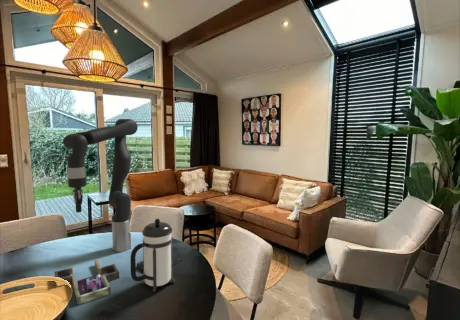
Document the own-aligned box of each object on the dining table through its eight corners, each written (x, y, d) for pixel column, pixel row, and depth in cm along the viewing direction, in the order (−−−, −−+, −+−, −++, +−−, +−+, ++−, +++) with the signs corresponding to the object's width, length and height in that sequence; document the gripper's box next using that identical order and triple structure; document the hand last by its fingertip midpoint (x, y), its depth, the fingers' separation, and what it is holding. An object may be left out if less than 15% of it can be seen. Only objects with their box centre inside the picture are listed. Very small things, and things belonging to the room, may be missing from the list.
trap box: (109, 261, 136) (109, 255, 136) (125, 288, 112) (125, 282, 112) (54, 276, 121) (54, 269, 121) (59, 311, 98) (59, 303, 98)
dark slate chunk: (132, 267, 131) (131, 258, 130) (166, 252, 148) (166, 244, 148) (150, 278, 122) (150, 268, 121) (185, 260, 139) (185, 251, 139)
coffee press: (145, 273, 125) (144, 213, 122) (178, 274, 124) (178, 213, 121) (130, 296, 108) (128, 226, 105) (168, 297, 107) (168, 227, 104)
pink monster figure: (77, 281, 106) (101, 273, 112) (75, 280, 110) (98, 272, 116) (79, 298, 105) (103, 289, 111) (77, 296, 109) (100, 288, 115)
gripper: (88, 177, 120) (89, 214, 122) (83, 173, 131) (85, 207, 132) (69, 179, 116) (71, 217, 117) (66, 175, 126) (68, 209, 128)
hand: (78, 211), depth 125 cm, fingers closed
